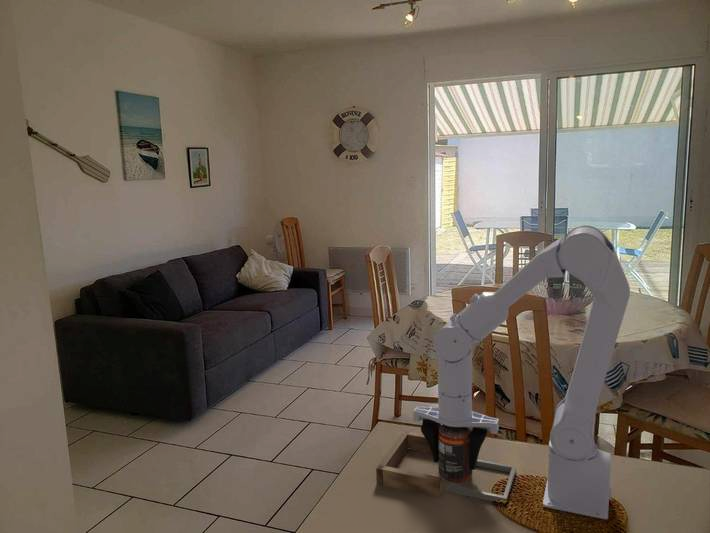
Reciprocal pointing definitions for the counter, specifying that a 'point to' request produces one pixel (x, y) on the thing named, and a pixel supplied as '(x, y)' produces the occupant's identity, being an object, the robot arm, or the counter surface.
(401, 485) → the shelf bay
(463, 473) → the supplement bottle
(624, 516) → the counter surface
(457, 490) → the slate bracket
